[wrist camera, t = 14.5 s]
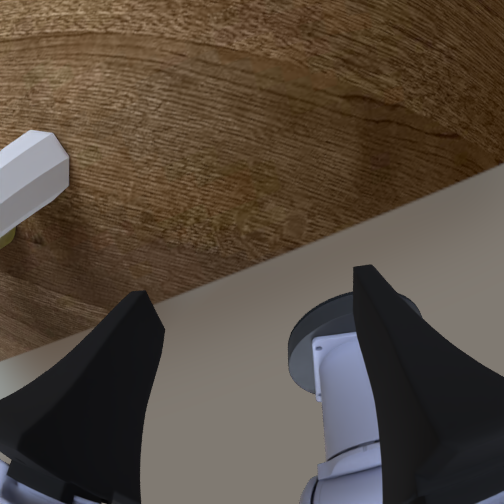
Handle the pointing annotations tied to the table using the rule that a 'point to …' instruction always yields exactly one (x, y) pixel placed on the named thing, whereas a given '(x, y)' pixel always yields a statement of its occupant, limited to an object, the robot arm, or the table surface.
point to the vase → (7, 238)
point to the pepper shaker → (30, 176)
